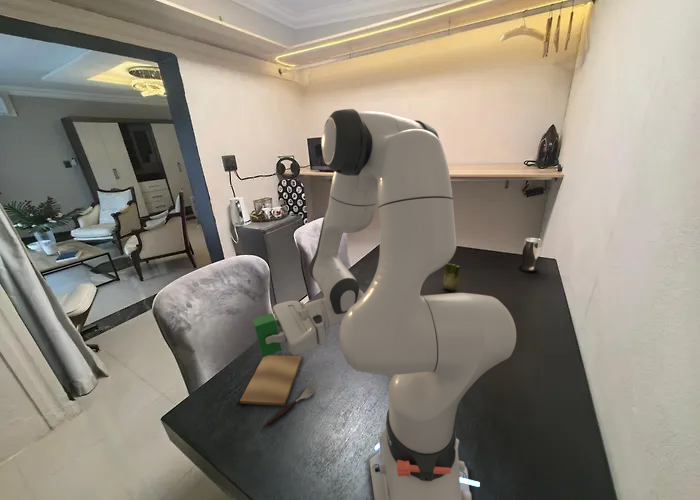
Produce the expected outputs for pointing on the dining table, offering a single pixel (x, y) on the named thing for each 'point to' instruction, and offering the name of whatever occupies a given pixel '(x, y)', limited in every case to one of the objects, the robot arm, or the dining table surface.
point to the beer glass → (530, 253)
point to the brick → (263, 328)
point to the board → (272, 381)
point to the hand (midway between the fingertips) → (263, 334)
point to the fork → (305, 394)
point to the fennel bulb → (451, 277)
